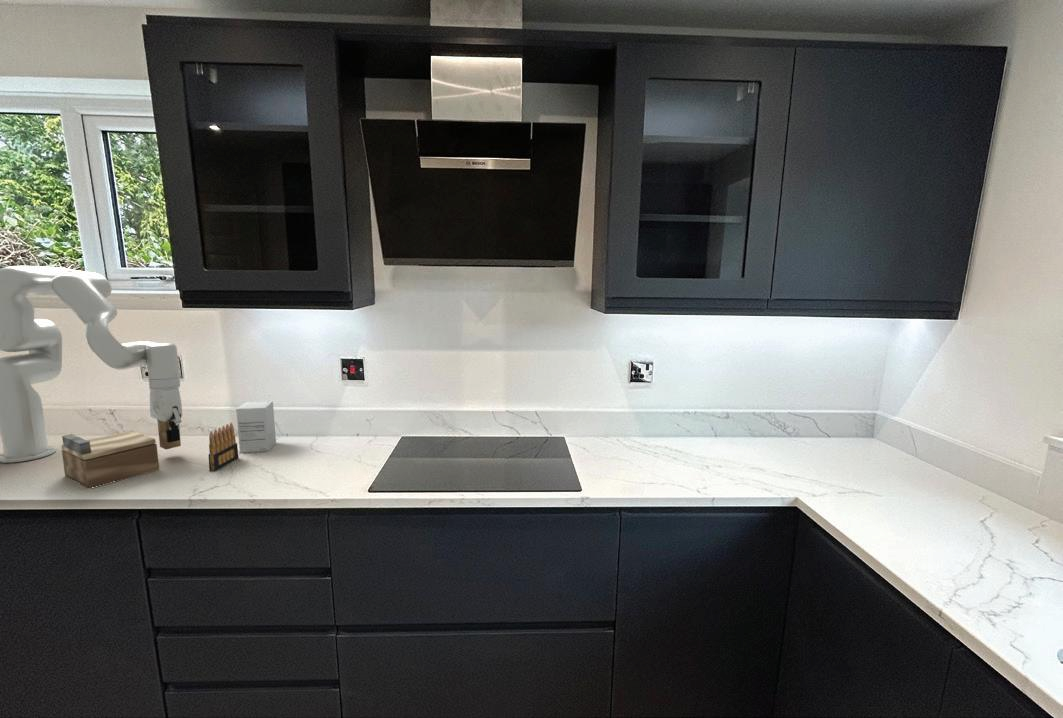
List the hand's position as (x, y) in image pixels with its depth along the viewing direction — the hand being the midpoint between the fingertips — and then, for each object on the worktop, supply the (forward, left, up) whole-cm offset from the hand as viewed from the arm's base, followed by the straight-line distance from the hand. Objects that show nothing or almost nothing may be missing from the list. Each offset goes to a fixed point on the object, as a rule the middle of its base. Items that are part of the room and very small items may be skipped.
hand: (169, 439), depth 148 cm
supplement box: (+14, +19, -6) cm, 25 cm away
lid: (0, -15, +2) cm, 15 cm away
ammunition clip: (+20, +5, -6) cm, 22 cm away
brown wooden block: (0, 0, -2) cm, 2 cm away
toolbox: (0, -15, -6) cm, 16 cm away
